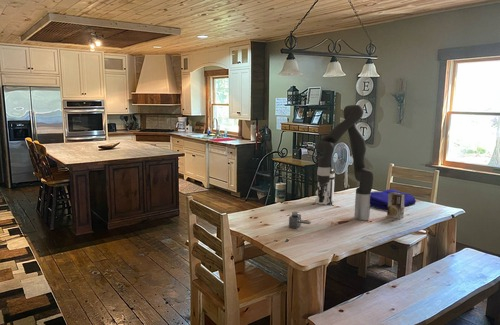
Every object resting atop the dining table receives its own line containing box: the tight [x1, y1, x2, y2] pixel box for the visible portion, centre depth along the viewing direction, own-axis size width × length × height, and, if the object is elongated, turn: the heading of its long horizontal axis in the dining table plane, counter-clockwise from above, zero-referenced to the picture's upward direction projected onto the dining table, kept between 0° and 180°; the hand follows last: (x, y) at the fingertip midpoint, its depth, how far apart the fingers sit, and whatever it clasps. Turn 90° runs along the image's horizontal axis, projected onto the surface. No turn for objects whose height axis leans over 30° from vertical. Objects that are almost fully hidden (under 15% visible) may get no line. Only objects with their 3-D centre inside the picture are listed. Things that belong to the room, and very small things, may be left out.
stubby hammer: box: [288, 211, 312, 230], centre depth 228 cm, size 12×8×9 cm, turn 65°
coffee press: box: [316, 166, 336, 206], centre depth 281 cm, size 17×16×30 cm
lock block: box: [314, 189, 329, 205], centre depth 230 cm, size 7×5×8 cm
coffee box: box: [386, 192, 405, 220], centre depth 252 cm, size 9×6×16 cm
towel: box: [370, 189, 417, 211], centre depth 285 cm, size 26×36×9 cm
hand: (322, 201), depth 230 cm, fingers closed on lock block, 5 cm apart
